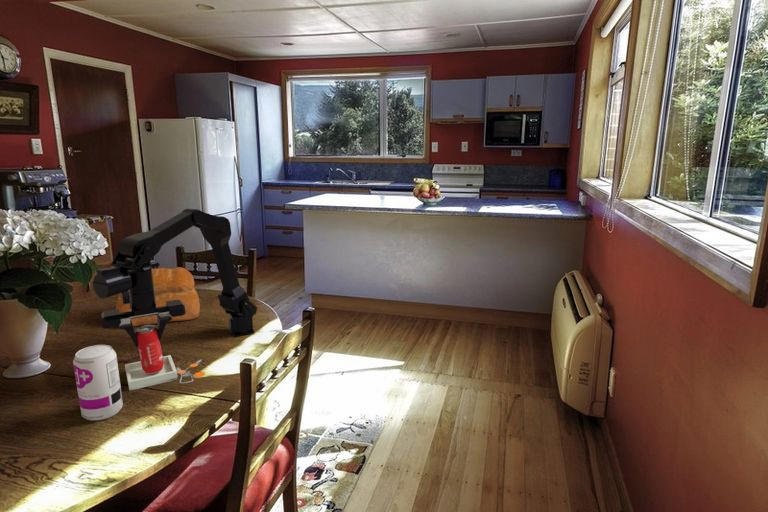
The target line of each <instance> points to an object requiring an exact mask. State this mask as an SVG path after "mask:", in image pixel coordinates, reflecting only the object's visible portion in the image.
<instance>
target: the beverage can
mask: <svg viewBox="0 0 768 512" xmlns="http://www.w3.org/2000/svg"><path fill="white" fill-rule="evenodd" d="M135 335H136V338H137V341H138V347H137V349H138V354H139V358H140V361H141V365H142V369H143V370H144V371H145V373H147V374H153V373H157V372H159V371H161V370H162V369H163V365H164V362H163V352H162V346H161V341H160V342H159V339H158V329H157V325H155V324H146V325H140V326H137V328H136V329H135Z"/></svg>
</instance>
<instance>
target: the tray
mask: <svg viewBox="0 0 768 512" xmlns="http://www.w3.org/2000/svg"><path fill="white" fill-rule="evenodd" d="M162 356H163V355H162ZM163 362H164V365H163V369H162V370H161V371H159V372H157V373H153V374H147V373H145V371H144V370H143V369H142V365H141V360H140V361H135V362H129V363H124V367H125V374H126V379H127V384H128V390H129V391H133V390H138V389H142V388H145V387H151V386H156V385H159V384H163V383H169V382H173V381H176V380H179V378H178V377H179V376H178V375H179V374H178V373H177V372H178V371H177V370H176V368H177V367H176V365H175V363H174V360H173V358H172V356H171V354H169V355H164V356H163Z"/></svg>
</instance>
